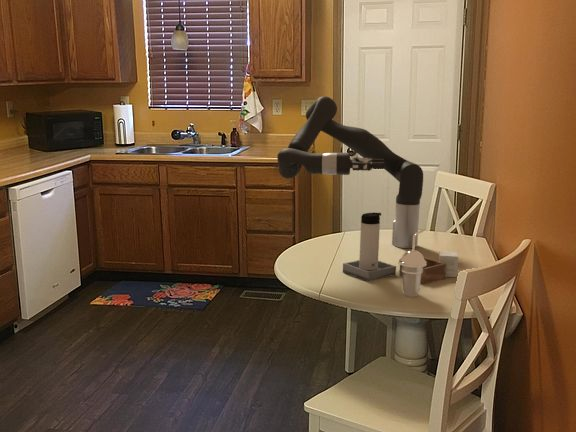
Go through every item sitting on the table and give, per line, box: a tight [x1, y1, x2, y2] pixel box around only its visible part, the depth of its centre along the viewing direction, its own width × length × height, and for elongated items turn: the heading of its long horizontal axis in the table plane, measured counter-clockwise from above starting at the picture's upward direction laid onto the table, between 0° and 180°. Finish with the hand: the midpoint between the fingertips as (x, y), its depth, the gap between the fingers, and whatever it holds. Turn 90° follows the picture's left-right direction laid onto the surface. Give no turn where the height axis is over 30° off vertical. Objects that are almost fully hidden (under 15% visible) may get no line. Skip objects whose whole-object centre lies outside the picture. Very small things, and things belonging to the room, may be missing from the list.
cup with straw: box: [397, 228, 427, 298], centre depth 190 cm, size 8×9×20 cm
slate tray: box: [342, 259, 397, 282], centre depth 212 cm, size 13×13×3 cm
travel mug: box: [358, 212, 382, 271], centre depth 210 cm, size 6×7×20 cm
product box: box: [438, 250, 459, 278], centre depth 212 cm, size 6×6×7 cm
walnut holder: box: [399, 256, 446, 285], centre depth 209 cm, size 11×11×5 cm
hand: (384, 164), depth 212 cm, fingers open, 8 cm apart
